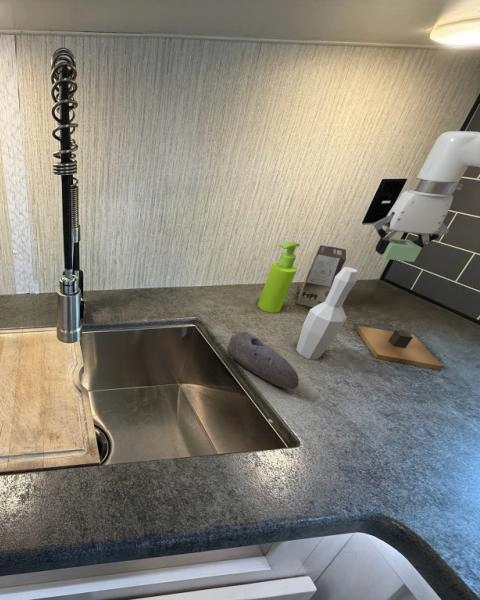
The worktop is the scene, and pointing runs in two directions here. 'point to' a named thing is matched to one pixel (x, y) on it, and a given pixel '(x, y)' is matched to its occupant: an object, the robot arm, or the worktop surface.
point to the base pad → (398, 347)
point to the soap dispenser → (279, 280)
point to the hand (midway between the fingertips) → (394, 253)
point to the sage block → (401, 250)
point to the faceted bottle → (326, 317)
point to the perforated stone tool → (262, 360)
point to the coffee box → (321, 275)
